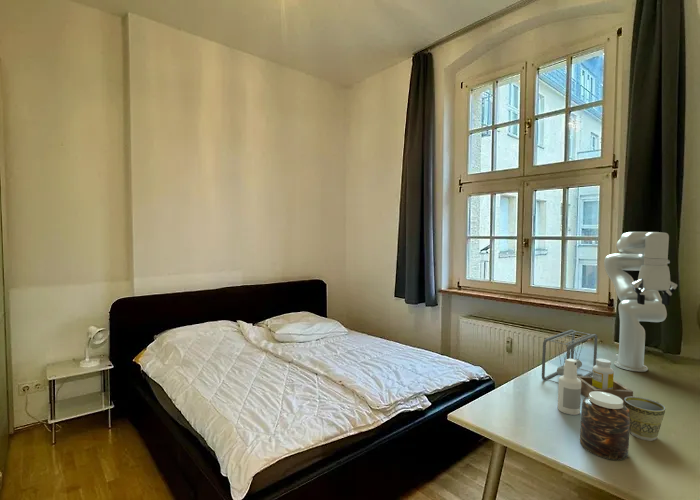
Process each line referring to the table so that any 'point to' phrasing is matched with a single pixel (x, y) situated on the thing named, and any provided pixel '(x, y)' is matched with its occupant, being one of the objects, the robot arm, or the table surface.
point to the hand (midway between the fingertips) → (653, 304)
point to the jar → (605, 426)
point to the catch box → (617, 389)
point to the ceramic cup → (644, 417)
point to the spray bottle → (569, 389)
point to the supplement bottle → (602, 375)
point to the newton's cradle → (568, 352)
